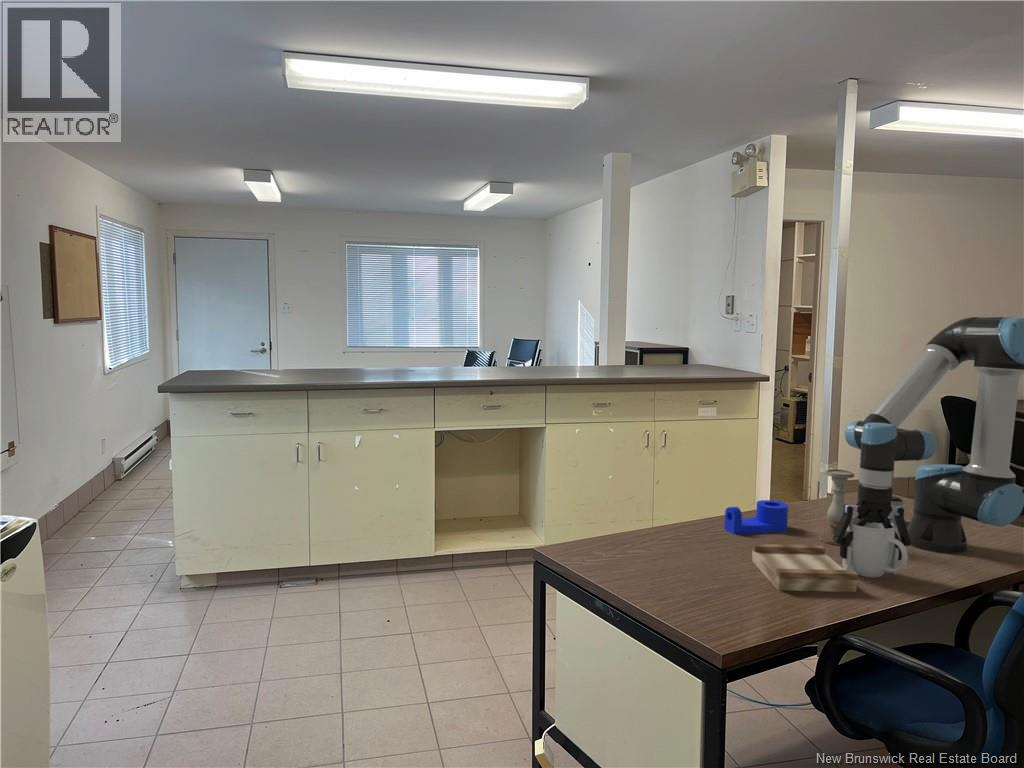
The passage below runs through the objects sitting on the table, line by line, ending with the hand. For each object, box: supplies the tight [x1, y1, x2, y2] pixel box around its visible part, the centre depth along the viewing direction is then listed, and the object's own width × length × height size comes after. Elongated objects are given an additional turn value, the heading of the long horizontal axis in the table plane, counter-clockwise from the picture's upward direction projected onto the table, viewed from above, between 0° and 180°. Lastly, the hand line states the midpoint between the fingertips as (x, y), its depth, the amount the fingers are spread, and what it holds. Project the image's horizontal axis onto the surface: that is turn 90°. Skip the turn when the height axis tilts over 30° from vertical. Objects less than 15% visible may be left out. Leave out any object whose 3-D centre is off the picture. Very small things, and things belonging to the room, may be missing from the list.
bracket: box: [723, 499, 789, 535], centre depth 210 cm, size 20×9×8 cm, turn 107°
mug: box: [847, 516, 909, 578], centre depth 172 cm, size 15×11×13 cm
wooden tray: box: [751, 543, 859, 593], centre depth 172 cm, size 18×21×4 cm
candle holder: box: [819, 468, 855, 546], centre depth 199 cm, size 9×9×20 cm
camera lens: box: [888, 496, 904, 525], centre depth 219 cm, size 6×6×8 cm
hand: (869, 571), depth 173 cm, fingers closed on mug, 11 cm apart
